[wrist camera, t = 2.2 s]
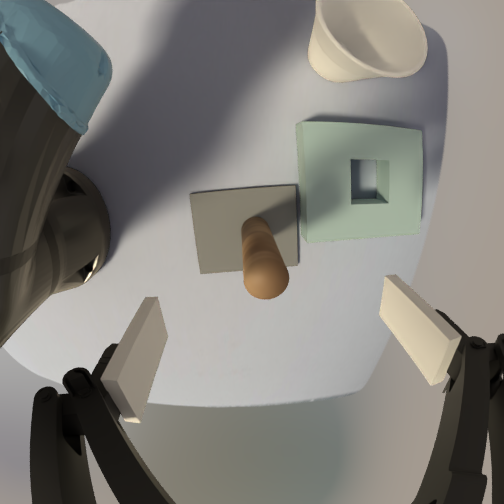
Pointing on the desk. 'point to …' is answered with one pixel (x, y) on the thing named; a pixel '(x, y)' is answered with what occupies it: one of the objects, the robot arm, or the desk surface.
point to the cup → (366, 40)
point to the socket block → (339, 181)
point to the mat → (232, 218)
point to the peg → (262, 260)
